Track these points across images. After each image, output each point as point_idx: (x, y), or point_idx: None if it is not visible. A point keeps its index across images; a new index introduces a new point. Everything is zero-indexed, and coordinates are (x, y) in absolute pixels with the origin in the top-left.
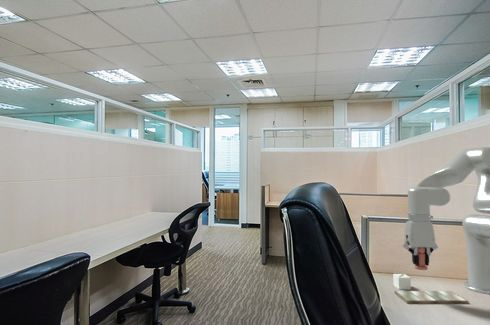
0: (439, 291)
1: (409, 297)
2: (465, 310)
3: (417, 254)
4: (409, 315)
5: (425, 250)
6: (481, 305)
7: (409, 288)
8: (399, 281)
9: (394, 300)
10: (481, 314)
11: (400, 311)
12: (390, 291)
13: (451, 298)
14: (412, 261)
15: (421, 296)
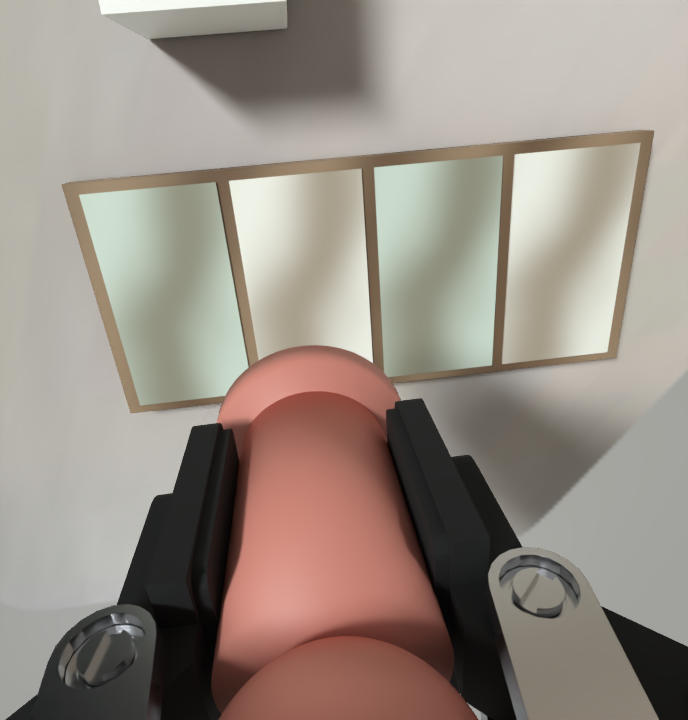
0: (528, 162)
1: (171, 344)
2: (501, 447)
3: (232, 698)
4: (107, 554)
5: (561, 675)
6: (673, 359)
7: (271, 26)
8: (130, 21)
9: (45, 342)
10: (554, 485)
11: (59, 514)
12: (37, 108)
13: (520, 327)
14: (158, 497)
15: (288, 310)
